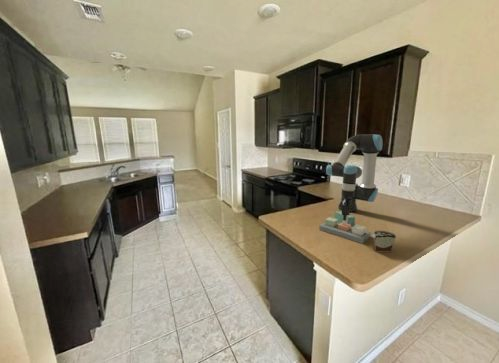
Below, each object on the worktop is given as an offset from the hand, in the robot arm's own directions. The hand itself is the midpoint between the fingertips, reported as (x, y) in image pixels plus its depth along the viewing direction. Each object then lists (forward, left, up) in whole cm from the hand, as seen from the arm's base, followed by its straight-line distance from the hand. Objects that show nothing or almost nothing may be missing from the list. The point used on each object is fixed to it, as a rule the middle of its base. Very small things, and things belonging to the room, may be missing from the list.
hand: (344, 224), depth 144 cm
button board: (0, 0, -6) cm, 6 cm away
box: (-16, -7, -6) cm, 19 cm away
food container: (+6, +23, -6) cm, 25 cm away
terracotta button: (0, 0, -4) cm, 4 cm away
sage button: (0, -9, -3) cm, 9 cm away
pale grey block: (0, +9, -3) cm, 9 cm away
